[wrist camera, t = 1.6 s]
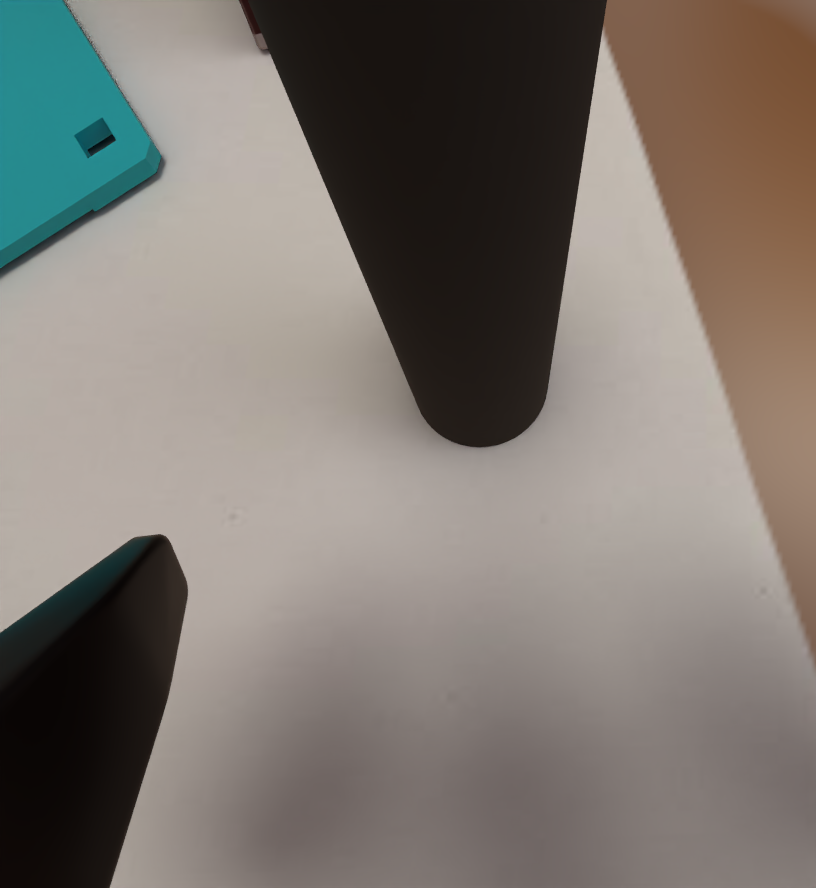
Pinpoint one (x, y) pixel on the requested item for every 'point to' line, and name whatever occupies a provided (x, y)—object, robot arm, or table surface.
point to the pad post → (451, 179)
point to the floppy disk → (59, 127)
